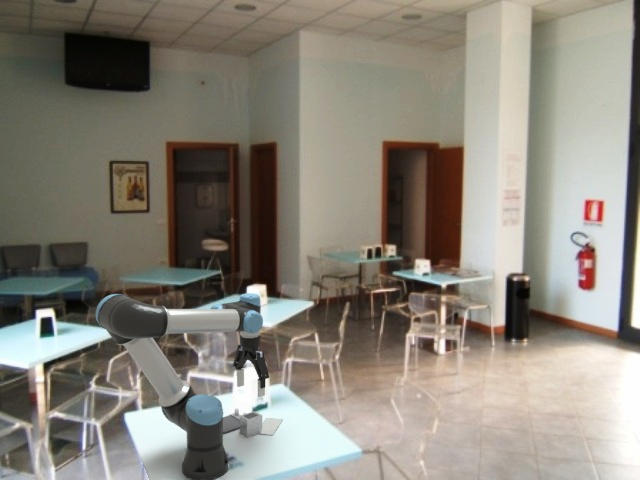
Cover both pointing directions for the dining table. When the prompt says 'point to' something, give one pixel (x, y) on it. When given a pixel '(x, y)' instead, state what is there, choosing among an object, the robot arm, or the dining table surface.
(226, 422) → the grey knobbed plate
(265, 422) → the smartphone
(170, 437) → the dining table surface
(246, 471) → the dining table surface
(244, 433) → the block
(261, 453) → the dining table surface
